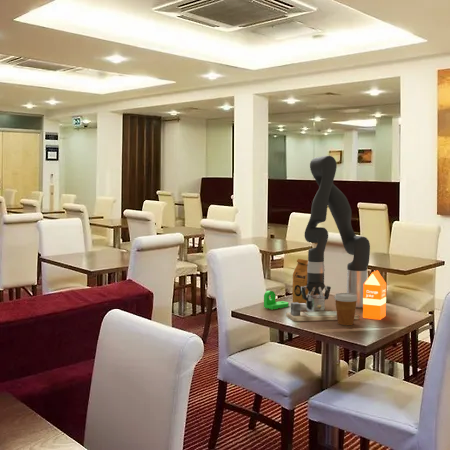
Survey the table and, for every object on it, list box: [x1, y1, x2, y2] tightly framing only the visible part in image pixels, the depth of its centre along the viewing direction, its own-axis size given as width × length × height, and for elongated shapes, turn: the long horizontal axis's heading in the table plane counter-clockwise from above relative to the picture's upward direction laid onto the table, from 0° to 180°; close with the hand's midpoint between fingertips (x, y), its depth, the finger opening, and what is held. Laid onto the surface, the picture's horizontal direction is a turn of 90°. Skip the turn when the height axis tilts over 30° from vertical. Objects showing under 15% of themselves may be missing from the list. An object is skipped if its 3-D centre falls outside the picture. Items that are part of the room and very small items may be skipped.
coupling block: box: [306, 295, 326, 312], centre depth 262 cm, size 5×11×7 cm, turn 11°
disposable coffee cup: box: [334, 292, 358, 326], centre depth 239 cm, size 10×10×12 cm
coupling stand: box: [285, 301, 360, 322], centre depth 251 cm, size 29×11×6 cm, turn 100°
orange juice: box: [362, 270, 387, 321], centre depth 252 cm, size 8×9×20 cm
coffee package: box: [292, 258, 319, 304], centre depth 278 cm, size 10×12×22 cm
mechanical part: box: [263, 290, 289, 311], centre depth 273 cm, size 12×6×8 cm, turn 128°
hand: (315, 308), depth 263 cm, fingers closed on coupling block, 5 cm apart
